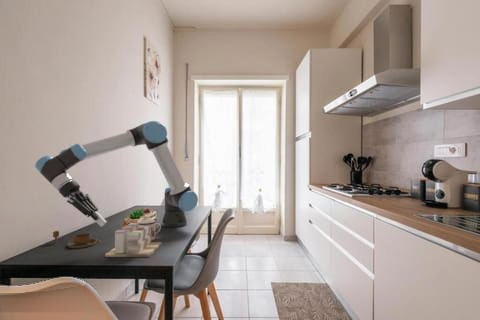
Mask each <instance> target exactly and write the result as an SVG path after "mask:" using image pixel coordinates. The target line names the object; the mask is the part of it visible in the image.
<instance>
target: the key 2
mask: <svg viewBox="0 0 480 320" xmlns="http://www.w3.org/2000/svg"><path fill="white" fill-rule="evenodd" d="M138 225H139V223H137V222H130V223H128V224H127V226H133V231H134V230H135V229H137V228H138Z"/></svg>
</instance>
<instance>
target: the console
mask: <svg viewBox="0 0 480 320" xmlns="http://www.w3.org/2000/svg"><path fill="white" fill-rule="evenodd" d="M161 246H162V241H159V242H158V241H157V242H154V241H153V242H152V241H151V225H142V226H140V227H139V228H137V229H135V230H134V231H132V232H131V233H129V234H127V251H126V252H124V253H115V247H114V248H112V249H111V250H109V251H108V252H106V253H105V254H104V255H105V257H106V258H109V257H111V258H122V257H123V258H133V257H134V258H137V257H138V258H139V257H140V258H144V257H145V258H149V257H151V256H152V255H153V254H154V253H155V252H156V251H157V250H158V249H159V248H160V247H161Z"/></svg>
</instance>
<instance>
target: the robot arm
mask: <svg viewBox="0 0 480 320" xmlns="http://www.w3.org/2000/svg"><path fill="white" fill-rule="evenodd" d="M167 135H168V131H167V128H166V126H165V125H164V124H163V123H162V122H160V121H157V120H152V121H147V122H145V123H141V124H139V125H138V126H136V127H133V128H131V129H127V130H126V131H125V132H124V133H119V134H116V135H113V136H109V137H106V138H102V139H99V140H95V141H91V142H88V143H84V144H80V143H75V144H73V145H71V146H70V147H68V148H66V149H63V150H61V151H60V152H59V154H58V155H56V156H54V157H53V156H51V155H45V156H41V158H39V159H37V161H36V162H35V169H37V171H38V172H39V173H40V174H41V176H43V178H45V180H47V181H48V182H49V183H50V184H51V185H52V186H53V188H54V189H56V191H58V193H59V194H60V195H62V197H63V198H67V200H66V203H68V204H70V205H72V206H73V207H74V208H76V210H78V211H79V212H80V213H81V214H83V215H84V216H87V218H89V217H91V218H92V219H93V221H94V222H95V223H96V224H97V225H99V227H100V228H101V227H104V225H106V224H107V222H108V221H107V220H106V219H105V218H104V217H103V216H102V215H101V214H100V213H99V212H98V211H99V208H98V207H97V204H96V203H94V201H93V200H92V198H91V197H90V195H89V194H88V193H85V194H84V193H83V191H81V190H80V188H81V186H80V184H79V183H78V182H77V181H76V180H75V179H74V178H73V177H72V176H71V174H69V173H68V172H67V171H68V170H69V169H71V168H72V167H74V166H76V165H77V164H78V163H80V162H83V161H85V160H89V159H92V158H94V157H98V156H102V155H105V154H108V153H111V152H115V151H118V150H121V149H125V148H127V147H128V148H129V147H130V146H131V147H134V148H135V147H137V146H141V145H142V146H143V145H145V146H146V148H147V150H148V151H150V152H151V153H152V154H153V156H154V158H155V160H156V162H157V164H158V166H159V168H160V170H161V172H162V175H164V178H165V181H166V183H167V184H168V186H169V187H166V188H165V189H164V214H163V217H162V219H161V227H164V228H179V227H180V228H181V227H185V226H187V225H188V219H187V216H186V214H185V212H190V211H192V210H194V209H195V208H196V207H197V205H198V202H199V198H198V195H197V193H196V192H195V191H193V190H192V188H191V187H190V184H188V183H186V182H185V180H184V178H183V176H182V174H181V172H180V170H179V167H178V165H177V163H176V161H175V159H174V157H173V154H172V152H171V150H170V148H169V145H168V143H169V140H168V137H167Z"/></svg>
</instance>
